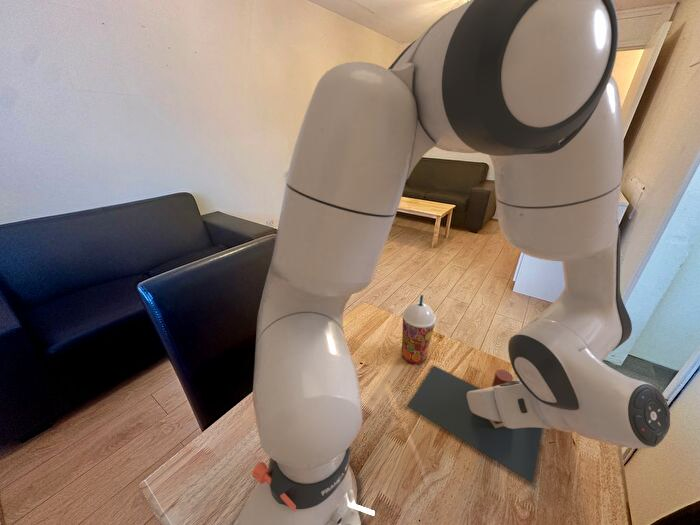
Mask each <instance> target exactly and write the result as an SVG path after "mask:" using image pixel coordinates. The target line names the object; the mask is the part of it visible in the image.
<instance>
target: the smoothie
mask: <svg viewBox="0 0 700 525" xmlns="http://www.w3.org/2000/svg"><path fill="white" fill-rule="evenodd" d="M423 300H424V294H421V295H420V297H419V301H417V302H412V303H411V304H409V305H408V306H407V307H406V308H405V309H404V310H403V312H402V331H401V332H402V334H401V336H402V337H401V353H402V355H403V358H404V359H405V360H406V361H408V362H409V363H411V364H420V363H422V362H423V361H424V360H425V359H426V358H427V356H428V352H429V349H430V344H431V340H432V337H433V333H434V328H435V325H436V321H437V317H436V314H435V312H434V310H433V309H432V307H430V306H429V305H428V304H427V303H424V302H423Z"/></svg>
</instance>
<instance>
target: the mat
mask: <svg viewBox="0 0 700 525" xmlns="http://www.w3.org/2000/svg"><path fill="white" fill-rule="evenodd" d="M478 389H480V388H479V387H478V386H475V385H473V384H471V383H469V382H467V381H465V380H464V379H461V378H459V377H457V376H456V375H454V374H451V373H449V372H448V371H445V370H443V369H441V368H439V367H437V366H435V365H433V366H432V368H431V369H430V371H429V372H428V374H427V375H426V377H425V379H424V380H423V382H422V383H421V385H420V386H419V388H418V389H417V391H416V392H415V393H414V395H413V397H412V398H411V399H410V401H409V403H408V404H407V408H409V409H410V410H413V411H414V412H416V413H417V414H419V415H421V416H423V418H425V419H427V420H429V421H430V422H432V423H433V424H435V425H437V426H438V427H440V428H441V429H443V430H445V431H446V432H448V433H450V434H451V435H453V436H454V437H457V438H458V439H459V440H461V441H463V442H464V443H466V444H468V445H470V446H471V447H473V448H474V449H476V450H477V451H479V452H481V453H483V454H484V455H485V456H487V457H489V458H490V459H492V460H493V461H495V462H497V463H499V464H500V465H502V466H503V467H505V468H507V469H508V470H510V471H511V472H513V473H515V474H516V475H519V476H520V477H521V478H523V479H524V480H526V481H528V482H530V483H531V484H533V482H534V478H535V473H536V467H537V460H538V454H539V448H540V444H541V437H542V431H543V428H537V427H533V428H515V429H511V428H507V427H505V426H503V427H499V428H494V426H493V425H492V424H491V422H490V421H489V419H486V418H483V417H481V416H478V415H476V414H474V413H472V412H471V410H470V408H469V405H468V401H467V392H469V391H473V390H478Z"/></svg>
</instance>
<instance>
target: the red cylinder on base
mask: <svg viewBox="0 0 700 525" xmlns="http://www.w3.org/2000/svg"><path fill="white" fill-rule="evenodd" d="M492 380H493V381H492V384H491V387H493V386H497V385H500V384H504V383H507V382H510V381H513V380H514V378H513V374H511V372H509V371H508V370H506V369H501V368H500V369H496V371H495V373H494V377H493V379H492ZM489 421H490V422H491V424H492V425H493V426H494V428H499V427H503V426H504V425H503V422H499V421H493V420H489Z"/></svg>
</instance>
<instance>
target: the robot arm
mask: <svg viewBox="0 0 700 525" xmlns="http://www.w3.org/2000/svg"><path fill="white" fill-rule="evenodd" d="M614 4H615V3H614V2H613V0H468V1H467V2H465V3H463V4H462V5H459V6H458V7H456V8H454V9H452V10H450V11H448V12H447V13H445V14H443V15H441V17H439V18H438V19H437V20H436V21H435V22H433V23H432V24H431V25H430V26H429V27H428V28H427V29H426V30H425V31H424V32H423V33H422V34H420V36H419V37H418V38H416V39H415V40H414V41H412V42H411V43H410V44H409V45H407V46H406V48H405V49H404V50H402V52H401V53H400V54H399V55H398V56H397V57H396V59H395V60H394V61H393V62H392V63H391V65H390V66H389V67H388V68H386V67H384V66H381V65H379V64H376V63H373V62H372V63H371V62H366V61H365V62H364V61H352V62H345V63H340V64H337V65H335V66H333V67H332V68H330V69H329V70H327V71H326V72H325V73H324V74H322V76H321V77H320V78H319V80H318V82H317V83H316V86H315V87H314V90H313V92H312V95H311V98H310V100H309V102H308V105H307V108H306V110H305V113H304V116H303V118H302V122H301V124H300V128H299V131H298V134H297V137H296V140H295V144H294V148H293V152H292V156H291V159H290V163H289V168H288V173H287V178H286V183H285V188H284V193H283V199H282V203H281V209H280V215H279V220H278V225H277V229H276V230H277V231H276V234H275V242H274V246H273V251H272V256H271V260H270V265H269V267H268V271H267V275H266V279H265V282H264V286H263V291H262V293H261V294H262V295H261V299H260V303H259V308H258V312H257V317H256V318H257V319H256V336H255V350H254V351H255V352H254V365H253V366H254V367H253V381H252V382H253V384H252V402H253V409H254V410H253V411H254V416H255V421H256V428H257V432H258V438H259V443H260V446H261V449H262V450H263V452H264V453H265V454H266V456H268V457H269V462H268V465H267V466H266V464H265V462H264V461H260V462H258V463H257V464H256V465H255V467H254V468H253V470H252V472H251V475H252V477H253V478H254V479H256V480H257V481H258V482H257V483H256V485H255V487H254V488H253V490H252V492H251V493H250V495H249V497H248V498H247V500H246V502H245V504H244V506H243V507H242V508H241V510H240V511H239V512H240V513H239V515H238V516H237V517H236V519H235V521H234V523H232V525H362V521H361V517H360V513H359V512H362V513H365V514H368V515H371V516H373V517H375V510H372V509H370V508H367V507H364V506H361V505H359V504H358V503H357V500H358V486H357V480H356V476H355V473H354V471H353V468H352V467H351V465H350V464H351V463H350V462H351V453H352V449H351V445H352V444H353V442H355V440H356V438H357V437H358V435H359V433H360V431H361V429H362V425H363V419H364V418H363V405H362V396H361V387H360V380H359V375H358V371H357V368H356V364H355V362H354V358H353V356H352V353H351V350H350V347H349V344H348V342H347V339H346V335H345V331H344V312H345V308H346V305H347V303H348V302H349V301H350V298H351V297H352V296H353V295H355V294H358V293H360V292H362V291H364V290H365V289H366V288H368V287H369V286H370V284H371V283H372V282H373V280H374V279H375V276H376V273H377V270H378V267H379V264H380V262H381V258H382V256H383V252H384V249H385V247H386V245H387V241H388V238H389V236H390V232H391V230H392V227H393V223H394V221H395V218H396V214H397V213H398V210H399V205H400V204H401V201H402V197H403V193H404V189H405V186H406V183H407V180H409V178H410V176H411V174H412V172H413V170H414V169H415V167H416V166H417V164H418V163H419V161H420V160H421V159H422V158H423V157H424V156H425V155H426V154H427V153H428V152H429V151H430V150H432V149H433V148H437V149H439V150H442V151H446V152H452V153H462V154H477V153H480V154H484V155H488V156H489V157H490V160H491V162H492V166H493V170H494V171H493V172H494V195H495V204H496V217H497V222H498V227H499V229H500V232H501V234H502V237H503V239H504V240H505V241H506V242H507V243H508V244H509V245H510V246H511V247H512V248H514V249H515V250H517V251H518V252H520V253H522V254H523V255H526V256H529V257H532V258H535V259H538V260H544V261H550V262H551V261H552V262H561V263H562V271H563V280H564V288H563V290H562V292H561V293H560V295H559V296H558V297H557V298H556V299H555V300H554V301H553V302H552V303H551V304H550V305H549V306H548V307H546V308H545V309H544V310H543V311H542V312H541V313H539V314H538V315H537V316H536V317H534V318H533V319H532V320H530V321H529V322H528V323H527V324H526V325H524V326H523V327H522V328H521V329H519V330H518V331H517V332H516V333H515V334H514V335H512V336H511V337H510V338H509V340H508V344H507V352H508V358H509V361H510V365H511V367H512V369H513V372H514V374H515V375H516V377H517V378H515V379H513V380H512V381H510V382H507V383H504V384H500V385H497V386H493V387H492V386H488V387H484V388H479V389H478V390H473V391H469V392H467V401H468V405H469V408H470V410H471V412H472V413H474V414H476V415H478V416H481V417H483V418H486V419H489V420H493V421H499V422H503V425H504V426H505V427H507V428H511V429H515V428H533V427H537V428H542V429H546V430H552V429H553V430H557V431H561V432H564V433H576V434H578V435H579V436H581V437H583V438H585V439H588V440H593V441H597V442H599V443H603V444H607V445H612V446H617V447H621V448H629V449H642V450H643V449H653V448H655V447H657V446H658V445H660V443H661V442H662V441H663V440H664V439H665V437H666V436H667V434H668V432H669V430H670V427H671V412H670V408H669V404H668V402H667V399H666V397H665V396H664V395H663V394H664V393H662V392H661V390H660V389H658V388H657V386H655V385H653V384H651V383H649V382H647V381H644V380H639V379H635V378H632V377H629V376H627V375H625V374H623V373H621V372H620V371H618V370H616V369H614V368H613V367H611V366H609V365H608V364H606V363H605V362H603V361H604V360H605V359H606V358H607V357H608V356H609V355H610V354H611V353H612V352H614V351H616V350H617V349H618V348H619V347H620V346H621V345H623V344H624V343H626V342H627V341H628V339H629V338H630V337H631V335H632V331H633V324H632V320H631V317H630V314H629V313H628V309H627V308H626V306H625V304H624V300H623V298H622V294H621V230H620V224H619V219H618V216H619V215H618V214H619V205H620V198H621V195H620V194H621V190H622V188H621V187H622V179H623V178H622V177H623V169H624V168H623V167H624V146H625V145H624V123H623V112H622V105H621V98H620V91H619V87H618V83H617V80H616V79H615V78H614V77H613V75H612V73H613V70H614V68H615V67H614V66H615V63H616V58H617V54H618V53H617V52H618V44H619V21H618V16H617V10H616V7H615V5H614Z"/></svg>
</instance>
